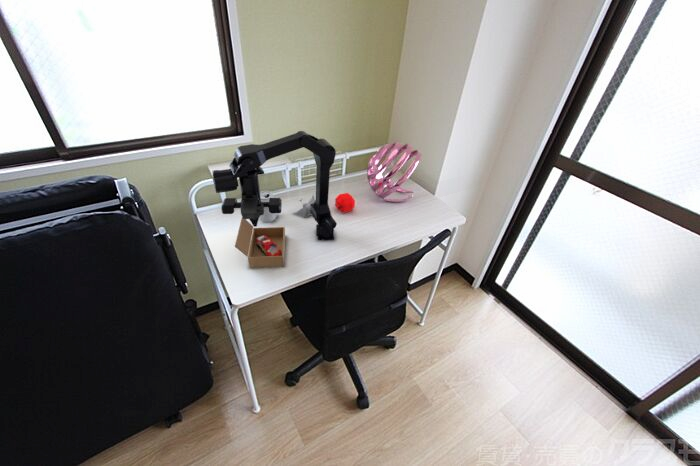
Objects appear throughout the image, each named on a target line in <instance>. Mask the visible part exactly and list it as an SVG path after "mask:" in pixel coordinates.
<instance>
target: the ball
mask: <svg viewBox="0 0 700 466" xmlns="http://www.w3.org/2000/svg"><path fill="white" fill-rule="evenodd" d="M334 206H335V208H336V209H337V210H338V211H339V212H340V213H342V214H344V213H349V212H352V211H353V210H354V209H355V207H356V200H355V198H354V197H353V195H351V194H350V193H349V192H344V193H340V194H338V195H337V196H336V198H335V200H334Z"/></svg>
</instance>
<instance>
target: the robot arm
mask: <svg viewBox="0 0 700 466" xmlns="http://www.w3.org/2000/svg"><path fill="white" fill-rule="evenodd" d="M303 148H304V149H306V150H308V151H309V152H311V153H312V154H313V159H314V162H315V164H316V170H315V171H316V172H315V173H316V174H315V202H314V204H310V208H311V209H310V213H311V215H310V216H312V218H313V220H314V221H315V222H316V223H317V224H315V233H316V234H315V235H316V237H317V241H334V240H335V235H334V233H335V231H334V230H335V229H336V227H337V225H338V223H337V222H336V220H335V219H334V218H333V217H332V214H331V209H330V206H329V192H330V190H329V189H330V175H331V167H333V165H334V163H335V159H336V156H337V155H336V154H337V152H336V148H335V147H334V146H333V145H332V144H330V142H329V141H328V140H326V139H325V138H317V136H314V135H312V134H309V133H307V132H305V131H304V130H299V131H297V132H296V133H292V134H290V135H286V136H284V137H280V138H278V139H274V140H271V141H268V142H265V143H263V144H262V143H261V144H256V143H255V144H246V145H240V146H238V147H236V149H235V151H234V155H233V156H234V157H233V158H232V160H231V161H230V162H229V163H230V164H229V165H228V166H229V168H226V169H215V170H212V171H211V173H212V181H213V186H214V190H215V193H216V194H220V193H227V192H234V191H236V190H238V187H240V192H241V199H240V201H238V199H237V198H236V197H225V198H224V199H223V201H222V204H221V213H222V214H223V215H232V214H234V213H235V209H240V215H241V219H242V218H243V219H246V220H248V221H250V224H251V225H252V226H253V228H258V227H257V226H258V223H259V220H260V219H259V217H260V216H261V215H263V214H264V210H265V208H269V212H270V213H276V214H281V213H282V208H283V207H282V206H283V204H282V203H283V202H282V199H281V197H274V198H269V202H264V201H261V197H260V192H261V190H260V182H259V180H260V179H259V175H260V176H262V175H264V174H265V171H264V169H263V167H262V166H263V165H264V164H265V163H266V162H267V161H269V160H271V159H274V158H277V157H280V156H283V155H286V154H289V153H291V152H294V151H297V150H300V149H303ZM238 180H239V181H238Z"/></svg>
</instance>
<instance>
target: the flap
mask: <svg viewBox="0 0 700 466" xmlns="http://www.w3.org/2000/svg"><path fill="white" fill-rule="evenodd" d="M253 228H254V226H253V224H252V223H251V222H249V220H248V219H243V218H242V217H241V219H240V224H239V227H238V230H237V236H236V238H235V239H236V240H235V242H234V243H235V244H234V248H235V249H237V250H238V251H239V252H240V253H242V254H243V255H244V256H246V257H248V255H249V249H250V244H251V238H252V233H253Z"/></svg>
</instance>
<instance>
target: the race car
mask: <svg viewBox="0 0 700 466" xmlns="http://www.w3.org/2000/svg"><path fill="white" fill-rule="evenodd" d="M256 244H257V246H258V248H259V249H260V250H261V251H262V252H263V253H264V254H265V255H266V256H282V252H281V250H280V249H279V248H278V247H277V246H276V245H277V244H276V245H275V244H274V243H273V241H272V240H271V239H270V238H269V237H267V236H266V235H263V236H260V237H258V238H257V239H256Z"/></svg>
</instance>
